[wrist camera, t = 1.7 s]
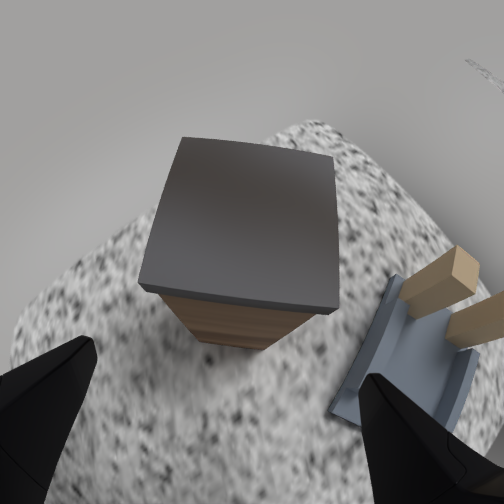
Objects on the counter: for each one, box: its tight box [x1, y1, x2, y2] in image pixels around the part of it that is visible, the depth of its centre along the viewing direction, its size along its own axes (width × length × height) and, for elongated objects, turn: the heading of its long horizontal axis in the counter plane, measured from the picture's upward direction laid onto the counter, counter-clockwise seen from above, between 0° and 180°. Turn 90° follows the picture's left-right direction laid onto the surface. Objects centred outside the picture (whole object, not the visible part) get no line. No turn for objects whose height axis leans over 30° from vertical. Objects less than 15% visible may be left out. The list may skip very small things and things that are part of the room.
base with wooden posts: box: [328, 245, 504, 433], centre depth 15 cm, size 12×10×8 cm
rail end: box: [138, 137, 339, 350], centre depth 14 cm, size 5×5×14 cm
